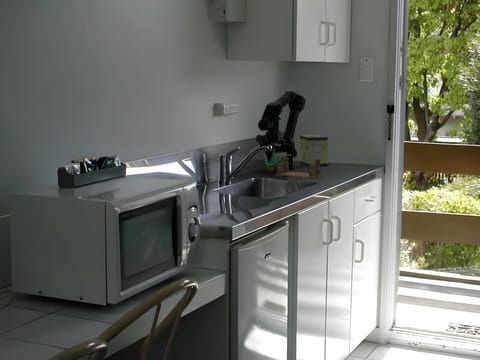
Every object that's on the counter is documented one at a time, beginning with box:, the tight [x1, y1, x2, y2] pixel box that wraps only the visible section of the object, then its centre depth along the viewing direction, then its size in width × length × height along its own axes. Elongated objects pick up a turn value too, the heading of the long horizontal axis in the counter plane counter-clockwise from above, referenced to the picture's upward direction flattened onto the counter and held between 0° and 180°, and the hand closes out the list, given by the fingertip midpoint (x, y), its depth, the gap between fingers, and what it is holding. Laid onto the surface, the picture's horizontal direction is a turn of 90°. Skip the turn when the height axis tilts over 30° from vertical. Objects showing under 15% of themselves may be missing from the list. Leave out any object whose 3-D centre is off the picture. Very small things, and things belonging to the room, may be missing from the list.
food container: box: [263, 151, 288, 174], centre depth 365 cm, size 12×6×10 cm, turn 62°
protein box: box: [299, 134, 329, 168], centre depth 391 cm, size 10×16×16 cm
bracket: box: [275, 157, 322, 179], centre depth 351 cm, size 10×19×8 cm, turn 62°
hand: (273, 160), depth 365 cm, fingers open, 9 cm apart
